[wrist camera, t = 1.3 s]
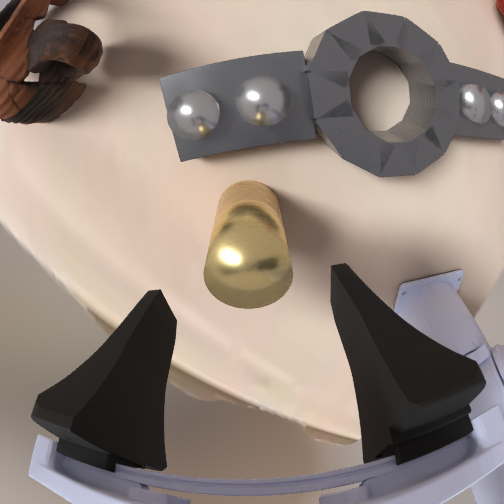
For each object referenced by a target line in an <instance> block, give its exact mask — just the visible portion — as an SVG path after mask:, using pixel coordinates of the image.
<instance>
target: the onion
mask: <svg viewBox="0 0 504 504" xmlns="http://www.w3.org/2000/svg"><path fill="white" fill-rule="evenodd" d="M496 4H497V8H498V10H499V12H500V13H501V14H502V15H503V16H504V0H497V3H496Z"/></svg>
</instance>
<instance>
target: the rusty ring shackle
mask: <svg viewBox="0 0 504 504" xmlns="http://www.w3.org/2000/svg"><path fill="white" fill-rule="evenodd" d="M68 1H69V0H11V1H10V2H9V3H8V4H7V5H6V6H5V8H4V9H3V10H2V11H1V12H0V119H1V121H5V122H7V123H10V122H13V123H21V124H32V123H46V122H50V121H52V120H54V119H56V118H58V117H59V116H60V115H62V114H63V113H64V112H65V111H67V110H68V109H69V108H70V107H71V106H72V105H73V104H74V102H75V101H76V99H77V98H78V97H79V96H80V94H81V93H82V92H83V90H84V89H85V85H84V84H82V83H78V82H76V81H74V80H76V79H78V78H79V77H81V76H82V75H84V74H88V73H90V72H91V71H92V70H93V69H94V68H95V67H96V66H97V65H98V64H99V61H100V58H101V56H102V54H103V49H102V43H101V40H100V39H99V37H98V36H97V35H96V34H95V33H93V32H92V31H91V30H89V29H88V28H86V27H83V26H81V25H77V24H70V23H67V22H66V21H64V20H46V21H44V22H42V23H41V24H40V25H39V26H38V27H37V28H36V30H33V27H34V23H35V21H36V20H40V19H43V18H45V17H46V15H47V11H48V7H49V4H50V5H54V6H62V5H64V4H65V3H67V2H68ZM29 72H32V73H39V72H40V75H39V81H38V82H30V81H28V82H25V81H24V79H25V78H26V77H27V76H28V75H29Z"/></svg>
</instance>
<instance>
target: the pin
mask: <svg viewBox="0 0 504 504" xmlns="http://www.w3.org/2000/svg"><path fill="white" fill-rule="evenodd" d="M292 278H293V271H292V266H291V261H290V256H289V251H288V246H287V241H286V236H285V231H284V226H283V221H282V217H281V212H280V207H279V203H278V199H277V197H276V195H275V194H274V192H273V191H272V190H271V189H270V188H269V187H267V186H266V185H264V184H262V183H260V182H256V181H241V182H238V183H235V184H233V185H232V186H230V187H229V188H228V189H227V190H225V192H224V193H223V194H222V196H221V198H220V201H219V205H218V210H217V214H216V218H215V222H214V227H213V231H212V236H211V240H210V245H209V249H208V254H207V258H206V263H205V268H204V280H205V284H206V286H207V288H208V290H209V291H210V292H211V293H212V295H213V296H215V297H216V298H217V299H218V300H220V301H221V302H223V303H225V304H227V305H230V306H233V307H237V308H245V309H252V308H260V307H264V306H267V305H269V304H272V303H274V302H276V301H277V300H279V299H280V298H281V297H282V296H283V295H284V294H285V293H286V292H287V290H288V289H289V287H290V285H291V282H292Z"/></svg>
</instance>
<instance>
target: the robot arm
mask: <svg viewBox="0 0 504 504" xmlns="http://www.w3.org/2000/svg"><path fill="white" fill-rule="evenodd" d="M463 276H464V271H463V270H462V269H460V270H456V271H453V272H449V273H445V274H441V275H436V276H432V277H428V278H424V279H419V280H415V281H410V282H406V283H403V284H401V285H400V287H399V291H398V295H397V299H396V303H395V307H394V311H393V310H392V309H391V308H390V307H389V306H387V305H386V304H385V303H384V302H383V301H382V300H381V299H380V298H379V297H378V296H377V295H376V294H375V293H374V292H373V291H372V290H371V289H370V288H369V287H368V286H367V285H366V284H365V283H364V282H363V281H362V280H361V279H360V278H359V277H358V276H357V275H356V274H355V273H354V271H353V270H352V269H351V268H350V267H349V266H348V265H347V264H346V263H344V264H338V265H332V266H331V306H332V310H333V315H334V319H335V323H336V326H337V329H338V332H339V335H340V338H341V341H342V344H343V347H344V350H345V353H346V356H347V359H348V362H349V365H350V369H351V372H352V377H353V382H354V387H355V393H356V399H357V405H358V411H359V419H360V427H361V437H362V449H363V461H364V464H362V465H358V466H354V467H349V468H344V469H339V470H334V471H329V472H323V473H317V474H310V475H302V476H294V477H283V478H270V479H211V478H197V477H186V476H178V475H170V474H163V473H158V472H152V471H146V470H141V469H137V468H142V469H145V468H146V469H151V470H158V471H162V470H164V469H165V468H166V467H167V462H166V454H165V443H164V403H165V390H166V384H167V378H168V374H169V369H170V364H171V359H172V355H173V350H174V345H175V339H176V327H177V320H176V318H175V316H174V314H173V312H172V311H171V309H170V307H169V305H168V303H167V301H166V299H165V297H164V295H163V293H162V291H161V289H160V290H151V291H148V292H147V293H146V294H145V295H144V296H143V298H142V299H141V300H140V301H139V302H138V304H137V305H136V306H135V307H134V308H133V310H132V311H131V312H130V313H129V315H128V316H127V317H126V318H125V319H124V321H123V322H122V323H121V324H120V326H119V327H118V328H117V329H116V330H115V331H114V332H113V334H112V335H111V336H110V337H109V338H108V339H107V340H106V342H105V343H104V344H103V345H102V346H101V347H100V348H99V349H98V350H97V351H96V352H95V353H94V354H93V355H92V356H91V357H90V358H89V359H88V360H86V361H85V362H84V363H83V364H82V365H81V366H79V367H78V368H77V369H76V370H75V371H73V372H72V373H71V374H70V375H68V376H67V377H66V378H65V379H63V380H61V381H60V382H58V383H57V384H55V385H54V386H52V387H50V388H49V389H47V390H45V391H44V392H42V393H40V394H39V395H38V397H37V400H36V403H35V405H34V408H33V412H32V414H31V418H32V419H33V421H35V422H36V423H37V424H39V425H40V426H41V427H43V428H45V429H46V430H47V431H49V432H51V433H52V434H54V435H55V436H57V437H59V442H56V441H54V440H52V439H50V438H47V437H45V436H43V435H41V434H38V437H37V440H36V444H35V448H34V452H33V456H32V460H31V464H30V470H29V476H31V477H32V478H33V479H35V480H37V481H39V482H40V483H42V484H43V485H45V486H46V487H48V488H49V489H51V490H52V491H54V492H56V493H57V494H59V495H60V496H62V497H63V498H65V499H66V500H68V501H70V502H71V503H73V504H190V501H191V500H190V499H188V498H182V497H177V496H172V495H168V494H163V493H158V492H153V491H150V489H149V487H148V486H151V487H156V488H162V489H168V490H174V491H181V492H188V493H197V494H208V495H224V496H266V495H283V494H294V493H303V492H311V491H317V490H324V489H330V488H335V487H340V486H345V485H350V484H354V483H358V482H362V481H363V482H362V483H361V484H360V486H359V487H357V488H353V489H349V490H344V491H340V492H335V493H331V494H325V495H322V496H321V497H320V498H319V502H320V504H442V503H444V502H445V501H447V500H449V499H451V498H452V497H454V496H455V495H457V494H459V493H460V492H462V491H464V490H465V489H467V488H468V487H470V486H471V488H472V491H473V495H474V498H475V501H476V504H504V346H499V345H495V347H494V348H491V347H490V346H489V344H488V342H487V341H486V338H485V337H484V335H483V333H482V331H481V330H480V328H479V326H478V325H477V323H476V321H475V320H474V318H473V316H472V315H471V313H470V311H469V310H468V308H467V307H466V305H465V304H464V302H463V301H462V299H461V297H460V296H459V294H458V293H457V292H458V289H459V287H460V284H461V281H462V278H463Z"/></svg>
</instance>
